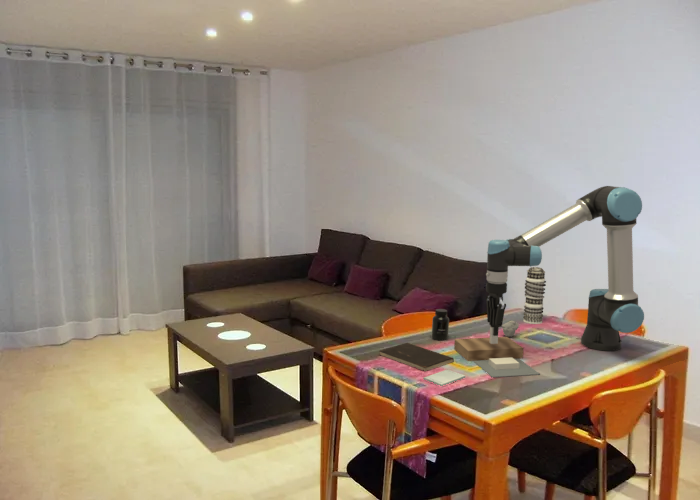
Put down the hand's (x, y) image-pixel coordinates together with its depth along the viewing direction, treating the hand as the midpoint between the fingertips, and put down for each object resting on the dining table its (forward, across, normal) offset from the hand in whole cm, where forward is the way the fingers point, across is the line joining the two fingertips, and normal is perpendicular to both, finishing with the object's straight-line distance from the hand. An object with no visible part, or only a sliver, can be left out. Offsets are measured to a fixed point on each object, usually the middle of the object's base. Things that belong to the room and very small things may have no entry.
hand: (493, 342), depth 229 cm
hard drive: (+6, +18, -26) cm, 33 cm away
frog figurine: (+6, -23, +18) cm, 30 cm away
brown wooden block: (+6, -4, 0) cm, 7 cm away
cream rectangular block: (+3, +10, -1) cm, 11 cm away
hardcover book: (+6, -3, -29) cm, 30 cm away
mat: (+6, +12, 0) cm, 13 cm away
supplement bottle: (+6, -25, -12) cm, 29 cm away
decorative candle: (+6, -43, +39) cm, 58 cm away
